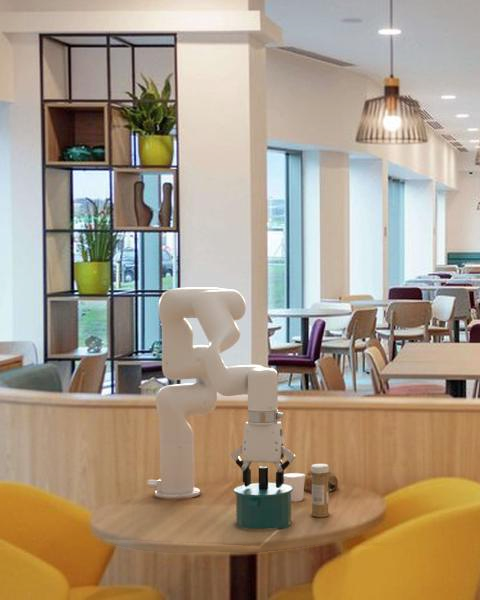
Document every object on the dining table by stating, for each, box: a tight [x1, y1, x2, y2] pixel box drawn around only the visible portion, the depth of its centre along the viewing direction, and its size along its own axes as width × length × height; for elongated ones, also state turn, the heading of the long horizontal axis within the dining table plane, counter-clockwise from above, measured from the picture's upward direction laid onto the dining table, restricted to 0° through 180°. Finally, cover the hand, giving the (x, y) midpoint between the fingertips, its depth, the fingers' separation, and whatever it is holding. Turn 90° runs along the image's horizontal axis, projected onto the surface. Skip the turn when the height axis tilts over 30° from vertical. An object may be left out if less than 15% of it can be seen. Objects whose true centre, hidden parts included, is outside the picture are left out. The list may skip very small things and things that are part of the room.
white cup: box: [283, 472, 306, 503], centre depth 298 cm, size 7×7×7 cm
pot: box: [235, 493, 292, 530], centre depth 270 cm, size 14×19×8 cm
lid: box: [234, 465, 292, 497], centre depth 270 cm, size 15×15×7 cm
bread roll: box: [304, 469, 339, 493], centre depth 311 cm, size 10×10×8 cm
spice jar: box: [310, 463, 330, 518], centre depth 279 cm, size 5×5×14 cm
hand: (263, 485), depth 270 cm, fingers open, 7 cm apart
